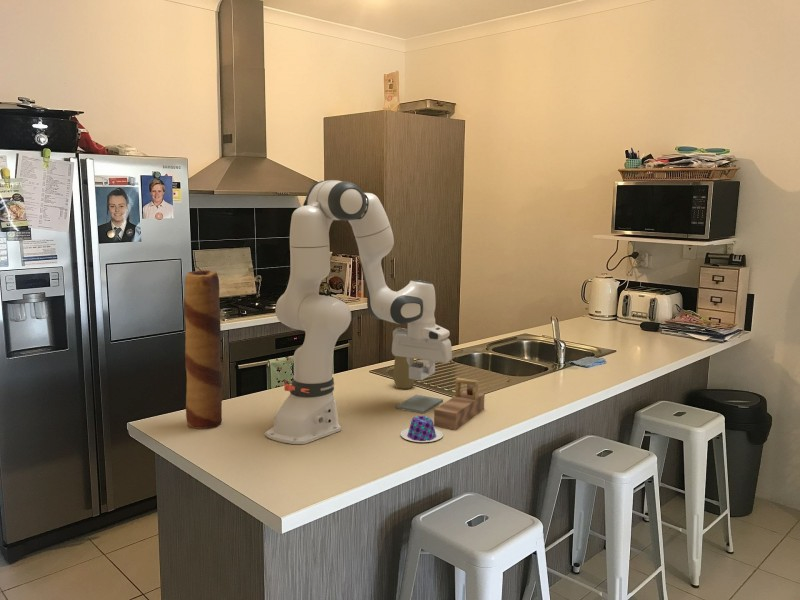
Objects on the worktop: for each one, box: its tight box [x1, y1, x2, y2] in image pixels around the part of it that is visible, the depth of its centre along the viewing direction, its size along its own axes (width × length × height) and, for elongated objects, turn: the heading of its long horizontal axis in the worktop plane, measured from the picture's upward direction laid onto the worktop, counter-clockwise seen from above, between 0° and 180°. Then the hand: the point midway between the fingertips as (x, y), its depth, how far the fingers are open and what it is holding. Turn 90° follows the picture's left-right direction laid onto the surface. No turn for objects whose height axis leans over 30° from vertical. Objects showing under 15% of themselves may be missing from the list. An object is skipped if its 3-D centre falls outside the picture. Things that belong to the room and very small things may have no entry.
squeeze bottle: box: [392, 356, 416, 390], centre depth 230 cm, size 8×8×18 cm
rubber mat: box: [395, 394, 444, 414], centre depth 212 cm, size 14×10×1 cm
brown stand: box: [433, 376, 486, 431], centre depth 200 cm, size 22×7×11 cm, turn 151°
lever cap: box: [409, 359, 436, 381], centre depth 211 cm, size 10×4×5 cm, turn 151°
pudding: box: [400, 415, 444, 443], centre depth 184 cm, size 12×12×5 cm
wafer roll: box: [183, 269, 223, 429], centre depth 189 cm, size 10×11×45 cm
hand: (420, 372), depth 210 cm, fingers closed on lever cap, 4 cm apart
